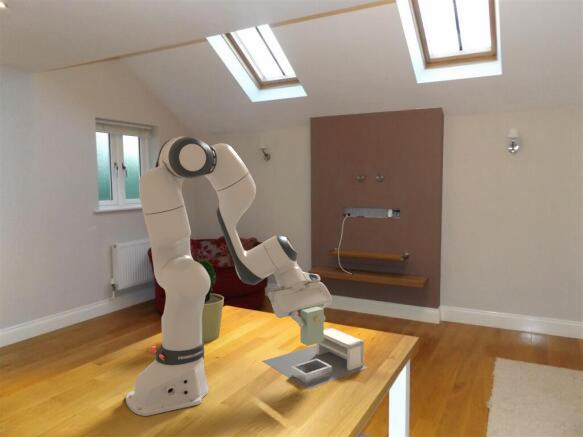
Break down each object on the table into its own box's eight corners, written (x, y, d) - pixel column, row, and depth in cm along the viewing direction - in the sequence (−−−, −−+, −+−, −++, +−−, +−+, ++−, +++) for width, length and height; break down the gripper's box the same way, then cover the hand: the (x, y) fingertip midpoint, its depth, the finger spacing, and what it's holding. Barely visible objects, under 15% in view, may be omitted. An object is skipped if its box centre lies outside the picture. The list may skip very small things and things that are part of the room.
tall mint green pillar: (310, 347, 133) (310, 313, 132) (300, 342, 137) (300, 309, 136) (325, 342, 137) (325, 309, 136) (316, 337, 141) (316, 306, 139)
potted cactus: (175, 341, 169) (173, 261, 166) (195, 328, 184) (194, 254, 180) (213, 346, 164) (211, 264, 161) (231, 332, 179) (230, 256, 176)
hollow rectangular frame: (305, 385, 133) (305, 375, 132) (291, 376, 138) (291, 366, 138) (331, 375, 139) (332, 366, 138) (316, 367, 144) (316, 358, 144)
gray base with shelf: (308, 393, 130) (308, 362, 129) (262, 364, 149) (261, 337, 148) (367, 371, 144) (368, 343, 144) (318, 347, 164) (318, 322, 163)
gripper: (269, 283, 135) (289, 325, 128) (322, 274, 147) (343, 311, 140) (261, 295, 139) (280, 336, 132) (313, 285, 151) (333, 321, 144)
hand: (313, 323), depth 136 cm, fingers closed on tall mint green pillar, 6 cm apart
